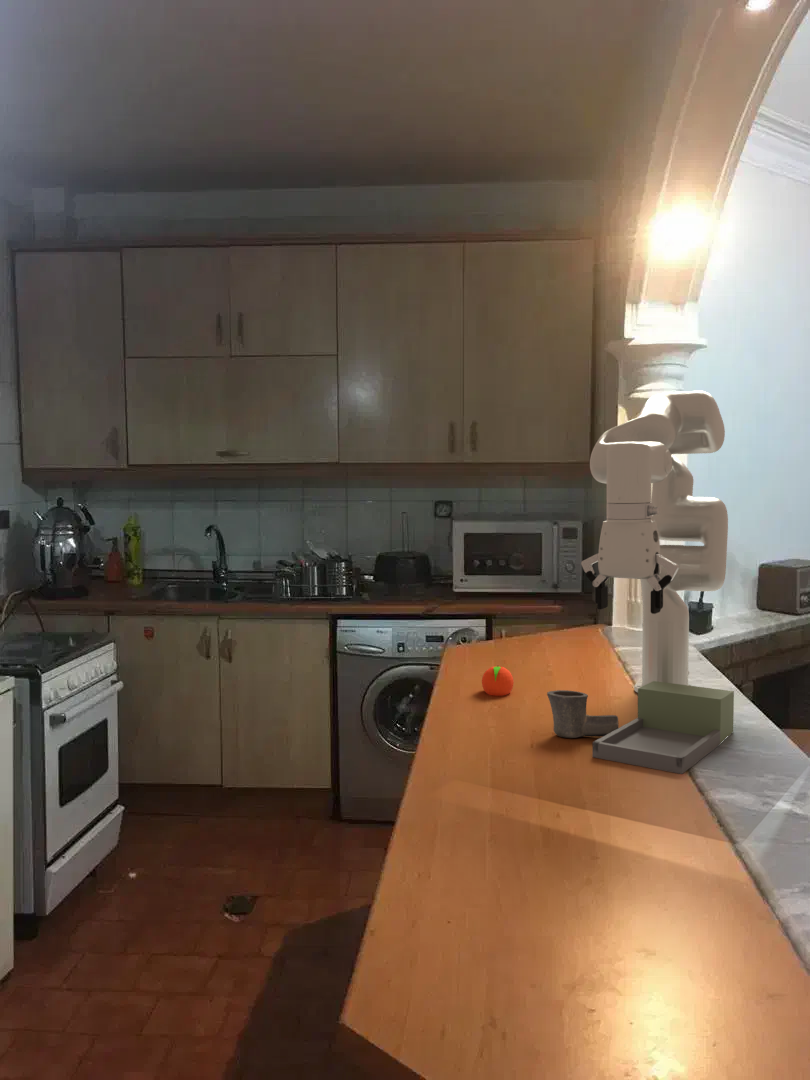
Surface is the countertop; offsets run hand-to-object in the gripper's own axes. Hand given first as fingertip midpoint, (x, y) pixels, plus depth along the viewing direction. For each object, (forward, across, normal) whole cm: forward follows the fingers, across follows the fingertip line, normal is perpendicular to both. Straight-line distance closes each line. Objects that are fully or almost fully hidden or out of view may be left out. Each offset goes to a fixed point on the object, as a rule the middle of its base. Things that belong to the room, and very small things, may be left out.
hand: (628, 610), depth 149 cm
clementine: (+25, +35, -16) cm, 46 cm away
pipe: (+24, +8, +2) cm, 25 cm away
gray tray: (+23, -6, +3) cm, 24 cm away
